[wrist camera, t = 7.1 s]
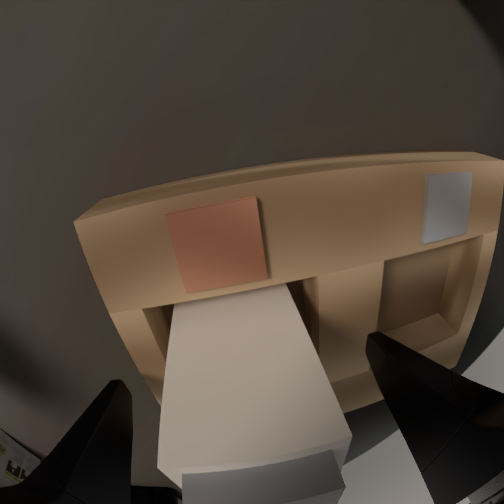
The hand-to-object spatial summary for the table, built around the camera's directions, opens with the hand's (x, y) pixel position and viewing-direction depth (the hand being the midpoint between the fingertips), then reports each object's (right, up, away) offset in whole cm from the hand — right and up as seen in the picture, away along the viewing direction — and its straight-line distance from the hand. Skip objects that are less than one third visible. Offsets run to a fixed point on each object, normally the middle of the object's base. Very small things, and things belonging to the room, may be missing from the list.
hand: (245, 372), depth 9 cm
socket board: (+4, +2, +3) cm, 5 cm away
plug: (0, +1, +2) cm, 3 cm away
